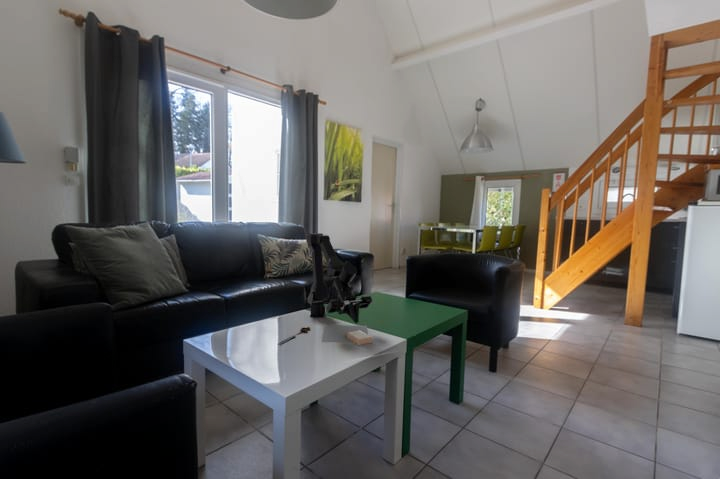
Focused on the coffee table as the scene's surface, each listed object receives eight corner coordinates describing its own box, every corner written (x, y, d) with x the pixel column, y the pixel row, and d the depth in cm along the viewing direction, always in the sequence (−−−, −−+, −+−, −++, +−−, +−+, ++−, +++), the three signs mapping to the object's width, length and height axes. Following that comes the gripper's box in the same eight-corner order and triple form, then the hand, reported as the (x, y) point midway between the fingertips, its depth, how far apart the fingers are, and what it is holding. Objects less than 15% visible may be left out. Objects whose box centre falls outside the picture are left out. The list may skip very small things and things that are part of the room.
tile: (346, 332, 137) (358, 339, 129) (360, 329, 140) (372, 336, 132) (346, 337, 137) (358, 345, 129) (359, 335, 140) (372, 342, 132)
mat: (321, 343, 132) (321, 341, 132) (325, 326, 152) (325, 324, 152) (369, 343, 132) (369, 342, 132) (366, 327, 152) (366, 325, 152)
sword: (275, 351, 124) (275, 345, 124) (268, 349, 126) (268, 343, 126) (314, 330, 147) (314, 326, 146) (307, 329, 148) (307, 324, 148)
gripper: (356, 297, 155) (369, 329, 146) (317, 302, 145) (328, 336, 136) (366, 283, 147) (380, 315, 139) (326, 286, 138) (338, 322, 129)
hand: (357, 322), depth 136 cm, fingers closed
